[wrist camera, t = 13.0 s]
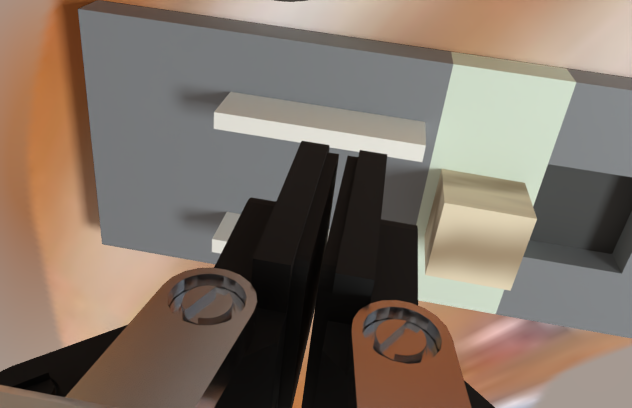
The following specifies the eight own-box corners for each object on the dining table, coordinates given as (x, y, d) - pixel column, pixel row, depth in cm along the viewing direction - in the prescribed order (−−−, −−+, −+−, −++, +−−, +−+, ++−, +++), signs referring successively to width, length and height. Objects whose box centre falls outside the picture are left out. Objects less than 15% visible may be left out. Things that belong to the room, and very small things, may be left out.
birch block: (441, 168, 43) (444, 202, 38) (524, 182, 42) (537, 218, 38) (424, 236, 46) (425, 275, 41) (501, 250, 45) (510, 290, 41)
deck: (98, 0, 43) (46, 22, 37) (730, 92, 40) (786, 133, 34) (117, 225, 53) (79, 271, 47) (620, 313, 50) (648, 375, 44)
